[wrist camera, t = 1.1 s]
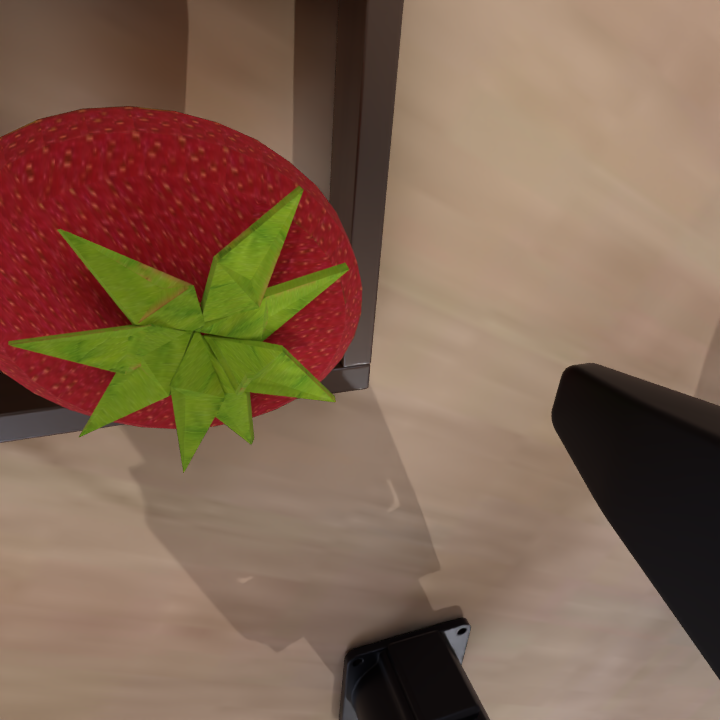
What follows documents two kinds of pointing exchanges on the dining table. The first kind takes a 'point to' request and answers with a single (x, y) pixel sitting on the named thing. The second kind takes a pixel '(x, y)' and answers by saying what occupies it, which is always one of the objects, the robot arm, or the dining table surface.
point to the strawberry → (167, 272)
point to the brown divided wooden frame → (347, 197)
